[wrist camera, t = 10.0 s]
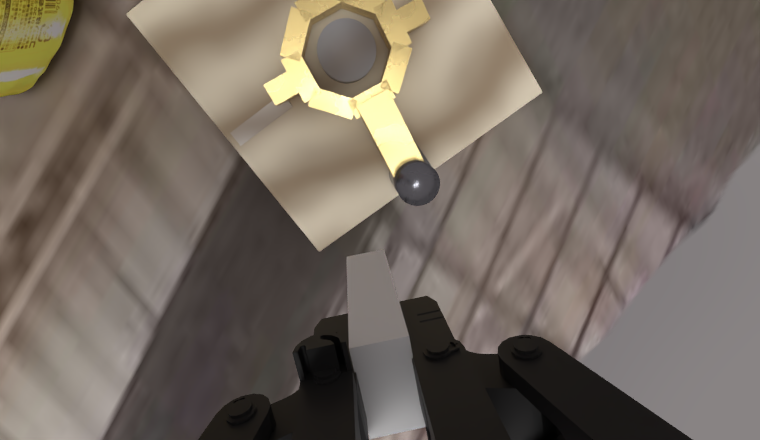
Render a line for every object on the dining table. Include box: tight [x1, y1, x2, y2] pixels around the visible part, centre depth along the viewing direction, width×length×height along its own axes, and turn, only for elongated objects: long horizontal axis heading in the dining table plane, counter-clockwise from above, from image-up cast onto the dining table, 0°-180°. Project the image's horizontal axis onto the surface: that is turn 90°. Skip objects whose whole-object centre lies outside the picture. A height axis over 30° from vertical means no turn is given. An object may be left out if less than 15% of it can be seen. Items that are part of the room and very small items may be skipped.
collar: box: [264, 0, 440, 206], centre depth 30 cm, size 12×16×5 cm
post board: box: [126, 0, 542, 252], centre depth 31 cm, size 22×22×5 cm
